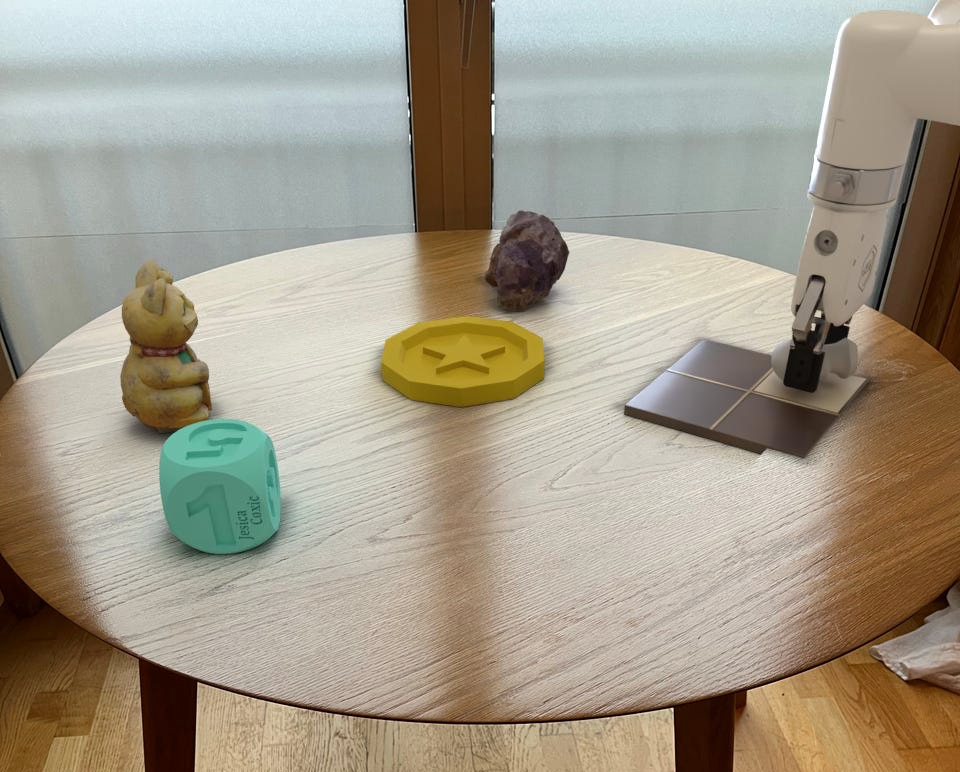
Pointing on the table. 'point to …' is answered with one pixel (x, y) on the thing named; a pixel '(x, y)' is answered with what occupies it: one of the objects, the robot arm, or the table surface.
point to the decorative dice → (220, 486)
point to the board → (743, 401)
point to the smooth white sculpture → (836, 359)
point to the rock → (526, 260)
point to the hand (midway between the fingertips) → (812, 373)
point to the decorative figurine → (162, 355)
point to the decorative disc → (463, 361)
